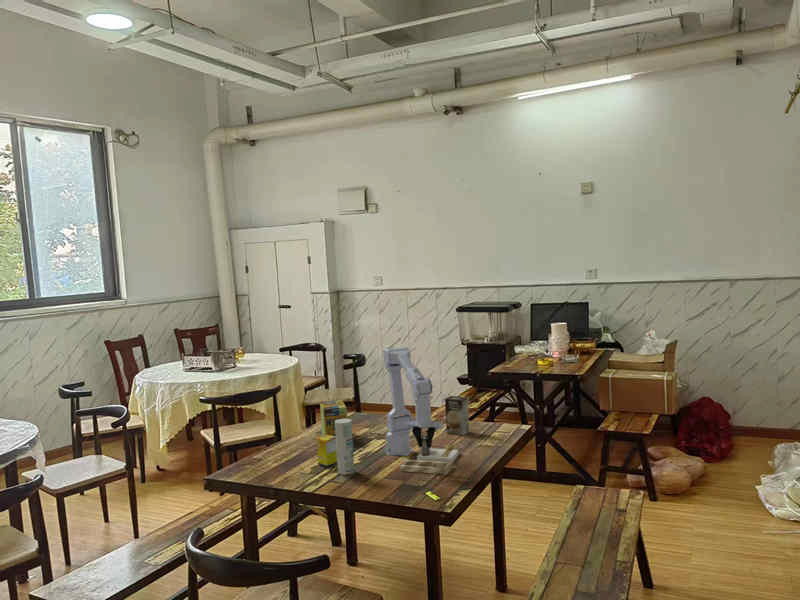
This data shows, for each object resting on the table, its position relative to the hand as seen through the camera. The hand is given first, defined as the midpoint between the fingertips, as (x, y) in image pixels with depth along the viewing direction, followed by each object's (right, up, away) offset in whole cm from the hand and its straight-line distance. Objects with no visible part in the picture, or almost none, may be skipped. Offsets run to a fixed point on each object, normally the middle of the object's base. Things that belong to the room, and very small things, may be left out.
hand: (425, 446), depth 233 cm
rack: (+1, -9, +1) cm, 9 cm away
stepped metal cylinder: (0, -3, +1) cm, 3 cm away
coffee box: (+17, -5, +48) cm, 51 cm away
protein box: (-39, -8, +51) cm, 65 cm away
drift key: (+10, -7, +13) cm, 18 cm away
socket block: (+6, -8, +13) cm, 16 cm away
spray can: (-30, -11, +4) cm, 32 cm away
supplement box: (-38, -11, +14) cm, 42 cm away
